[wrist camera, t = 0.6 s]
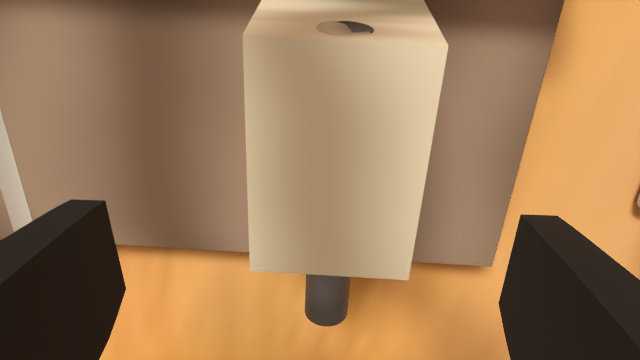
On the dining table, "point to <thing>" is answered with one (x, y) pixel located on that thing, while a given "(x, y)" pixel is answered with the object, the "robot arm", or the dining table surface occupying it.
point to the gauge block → (338, 139)
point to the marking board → (237, 118)
